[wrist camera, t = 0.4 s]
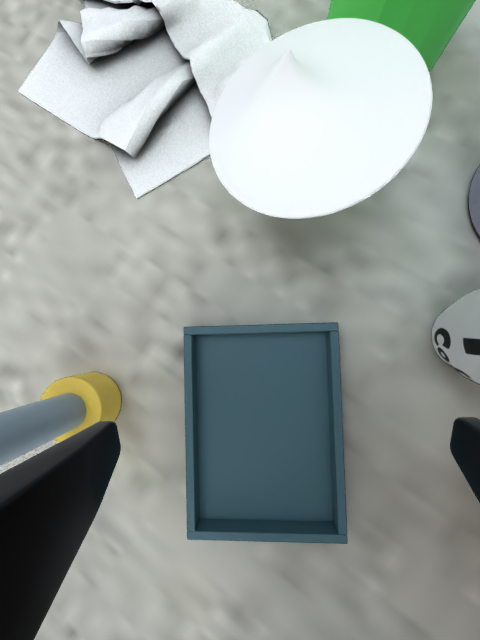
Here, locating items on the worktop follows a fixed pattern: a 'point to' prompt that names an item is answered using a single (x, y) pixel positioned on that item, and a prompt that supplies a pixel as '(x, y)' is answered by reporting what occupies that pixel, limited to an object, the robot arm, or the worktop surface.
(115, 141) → the cloth
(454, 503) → the worktop surface
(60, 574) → the robot arm
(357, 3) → the bottle
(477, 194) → the container
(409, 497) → the worktop surface
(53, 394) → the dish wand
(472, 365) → the cup
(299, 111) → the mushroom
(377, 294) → the worktop surface
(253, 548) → the worktop surface
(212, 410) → the tray
